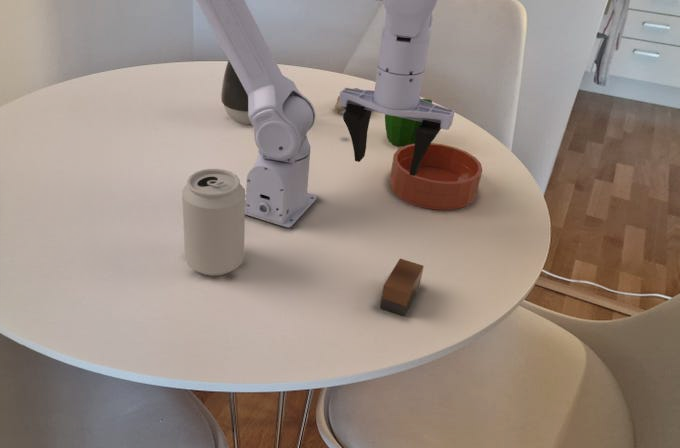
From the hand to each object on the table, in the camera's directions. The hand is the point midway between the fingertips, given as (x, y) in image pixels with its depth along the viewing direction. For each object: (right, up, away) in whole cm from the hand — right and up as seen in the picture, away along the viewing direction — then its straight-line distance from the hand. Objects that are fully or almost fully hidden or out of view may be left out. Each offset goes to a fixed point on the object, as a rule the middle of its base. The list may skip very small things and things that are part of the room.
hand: (386, 165), depth 87 cm
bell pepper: (+8, +7, +27) cm, 29 cm away
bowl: (+10, -2, +14) cm, 17 cm away
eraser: (0, -17, -9) cm, 19 cm away
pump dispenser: (-20, +12, +33) cm, 40 cm away
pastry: (0, +14, +39) cm, 42 cm away
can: (-23, -13, -4) cm, 26 cm away
